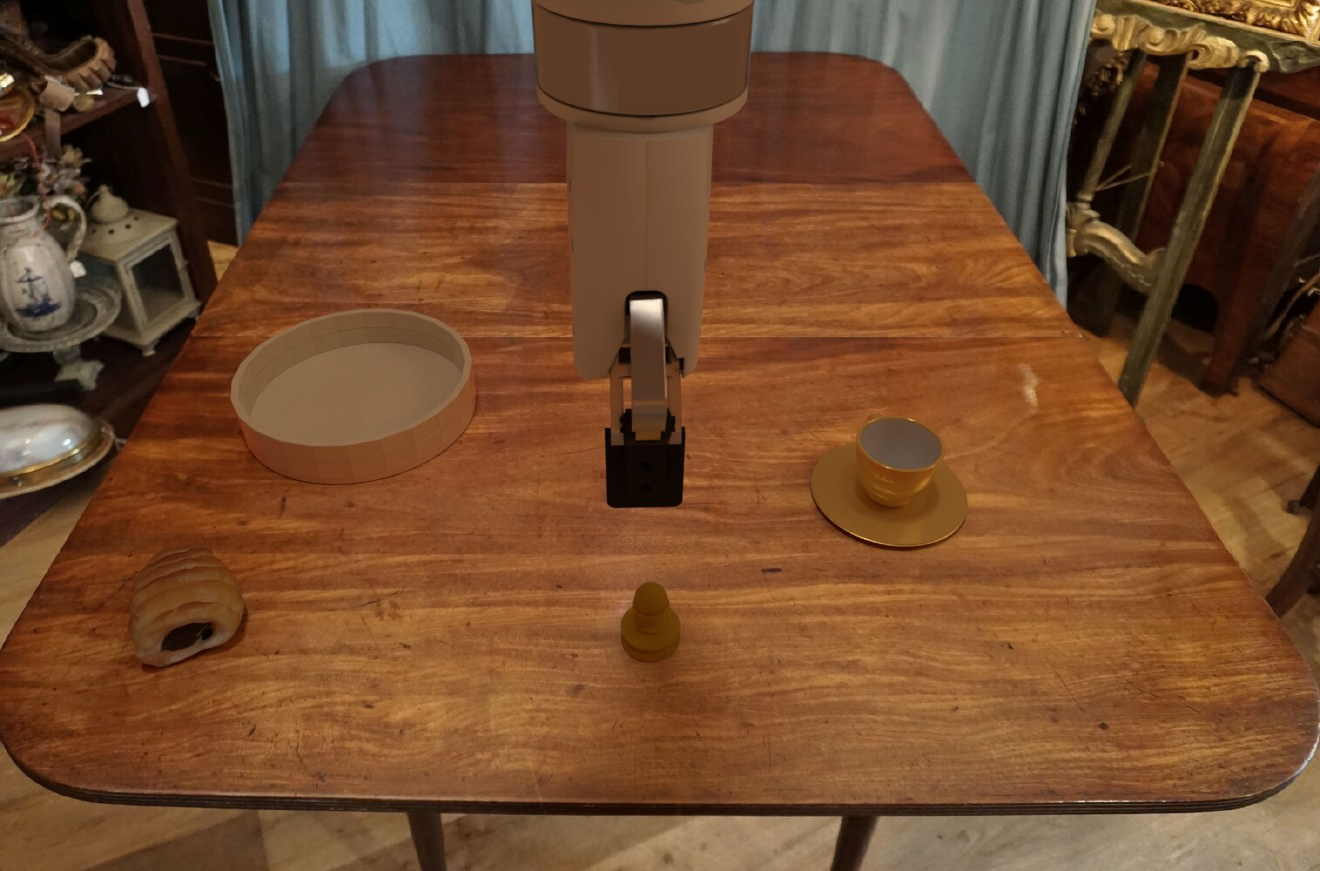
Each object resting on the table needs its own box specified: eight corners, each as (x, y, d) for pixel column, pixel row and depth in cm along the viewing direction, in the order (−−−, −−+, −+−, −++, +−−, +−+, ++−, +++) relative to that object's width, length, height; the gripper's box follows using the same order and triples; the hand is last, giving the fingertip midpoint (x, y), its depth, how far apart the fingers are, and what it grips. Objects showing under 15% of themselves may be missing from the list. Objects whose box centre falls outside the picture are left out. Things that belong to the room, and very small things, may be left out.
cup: (994, 537, 69) (1013, 484, 66) (842, 561, 67) (853, 507, 64) (926, 436, 78) (939, 384, 75) (790, 454, 76) (797, 401, 73)
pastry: (130, 578, 65) (111, 540, 63) (233, 547, 68) (218, 509, 65) (142, 679, 59) (122, 641, 56) (255, 640, 61) (239, 602, 59)
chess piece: (612, 623, 63) (611, 573, 59) (667, 607, 64) (668, 557, 61) (632, 669, 60) (632, 619, 57) (689, 652, 61) (691, 602, 58)
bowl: (375, 515, 70) (366, 476, 68) (192, 437, 77) (177, 398, 74) (519, 381, 83) (515, 344, 81) (352, 324, 90) (344, 288, 87)
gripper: (545, -17, 39) (565, 328, 50) (516, 153, 26) (552, 572, 37) (724, -16, 39) (705, 326, 50) (787, 152, 26) (742, 567, 37)
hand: (640, 429), depth 43 cm, fingers open, 9 cm apart
